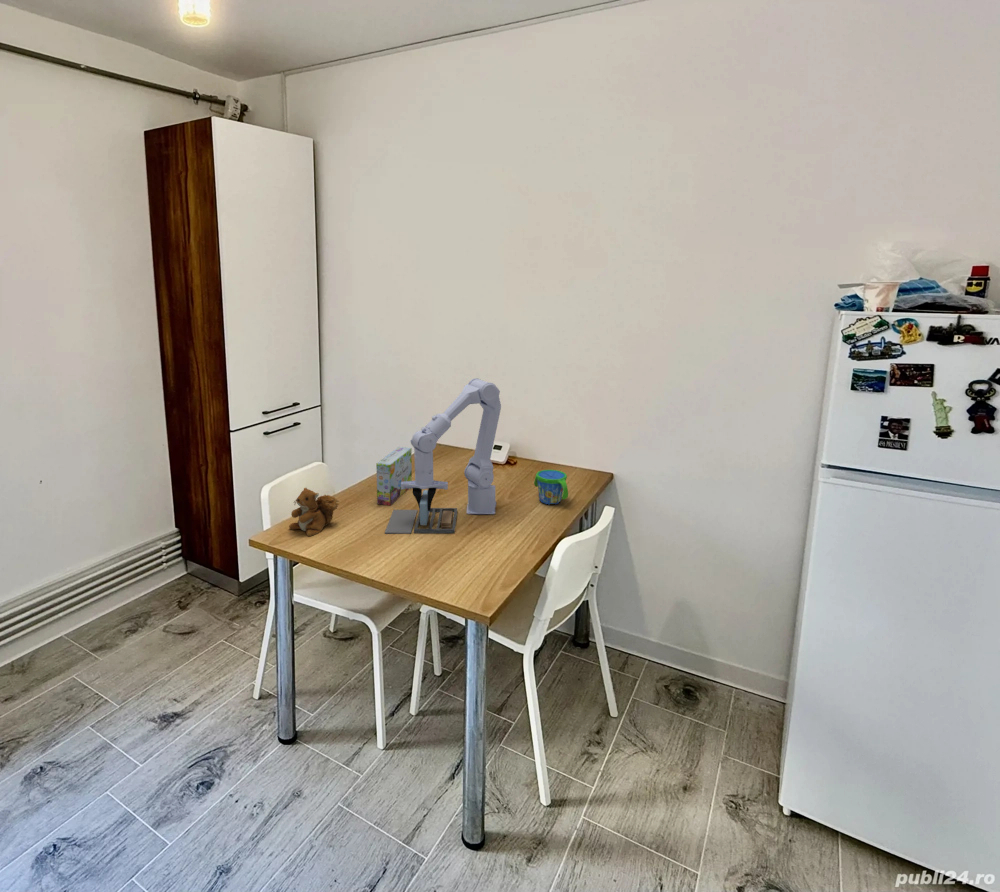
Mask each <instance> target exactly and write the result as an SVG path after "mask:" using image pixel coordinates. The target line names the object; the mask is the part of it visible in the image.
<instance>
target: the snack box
mask: <svg viewBox="0 0 1000 892" xmlns="http://www.w3.org/2000/svg"><path fill="white" fill-rule="evenodd" d="M412 450H413V449H412V447H406V446H405V447H404V446H402V447H401V446H399V447H397V448H395V449H394V450H393V451H391V452H389V454H387V455H386V456H384V457H383V458H382V459H380V460H379V461H377V463H376V469H375V470H376V499H377V502H376V504H377V505H382V506H391V505H393V504H394V503H395V502H396V501H397V500H398V499H400V498H401V496H403V494H405V493H406V492H407V490H409V489H401V482H405V481H413V477H412V474H413V473H412V471H413V470H412V469H413V467H412V457H413V455H412Z"/></svg>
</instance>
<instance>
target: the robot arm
mask: <svg viewBox="0 0 1000 892" xmlns="http://www.w3.org/2000/svg"><path fill="white" fill-rule="evenodd" d="M500 393H501V391H500V389H499V388H498V386H497V385H496V384H495V383H494V382H489V381H485V380H483V379H481V378H476V377H475V378H472V379H471V380H470V381H469V382H468V383H467V384H466V385H464V387H463V389H462V391H461V392H460V393H459V394H458V396H457V397H456V398H455V399H454V400H453V402H451V404H450V405H449V406H448V407H447V408H446V410H445V411H444V412H442V413H436V414H433V416H431V420H430V421H429V422H428V423H426V425H425V426H424V427H421V429H420V430H419V431H416V432H415V433H414V434H413V435H412V438H411V440H410V444H411V446H412V447H413V448H414V451H413V452H414V455H413V456H414V480H412V481H405V482H401V489H408V490H409V489H410V490H411V489H412V495H413V497H414V499H415V500H416V503H417V506H418V508H419V509H418V511H419V510H420V501H421V498H422V494H423V490H428V492H427V493H428V511H430V510H431V508H432V503H433V502H432V501H433V499H434V497H435V494H436V492H437V489H438V490H440V489H441V490H446V491H447V490H448V487H449V485H448V484H449V483H448V481H441V480H434V453H433V452H434V451H433V450H435V448H436V447H437V442H438V441H439V439H441V438H442V436H443V435H444V434H445V433H446V432H447V431H448V430H449V429H450V428H451V427H452V421H453V420H454V419H455V418H456V417H457V416H459V414H461V413H462V412H463V411H464V410H465V409H467V407H469V406H470V405H477V404H479V405H480V406H481V408H482V410H483V411H482V415H481V420H480V421H481V422H480V425H479V429H478V435H477V439H476V444H475V448H474V449H475V451H474V454H473V456H471V457H470V458H469V460H468V463H467V465H466V466H465V468H464V475H463V476H464V478H466V480H467V504H466V505H467V506H466V515H495V514H496V507H497V500H496V485H494V484H492V483H494V479H495V477H494V465H493V462H492V460H491V457H492V452H493V449H494V442H495V439H496V432H497V428H498V424H499V419H500V414H501V410H502V404H501V401H500Z"/></svg>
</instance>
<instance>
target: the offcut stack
mask: <svg viewBox="0 0 1000 892" xmlns="http://www.w3.org/2000/svg"><path fill="white" fill-rule="evenodd" d="M453 517H454V512H453V511H443V513H442V519H441V524H440V529H452V525H453Z"/></svg>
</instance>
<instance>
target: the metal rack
mask: <svg viewBox="0 0 1000 892" xmlns="http://www.w3.org/2000/svg"><path fill="white" fill-rule="evenodd" d="M443 511H453V517H452V524H451V529H441V521H442V516H443ZM430 513H431V517H430V520H429V525H428V528H419V526H420V510H419V509H418V512H417V518H416V519H415V520H416V521H415V523H414V526H413V534H434V535H435V534H437V535H438V534H450V535H452V534H454V535H455V530H456V526H457V525H456V524H457V523H456V522H457V515H458V508H457V507H431V510H430ZM436 513H438V518H437V522H436V523H437V524H436V528H433V526H434V521H435V517H436Z"/></svg>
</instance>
